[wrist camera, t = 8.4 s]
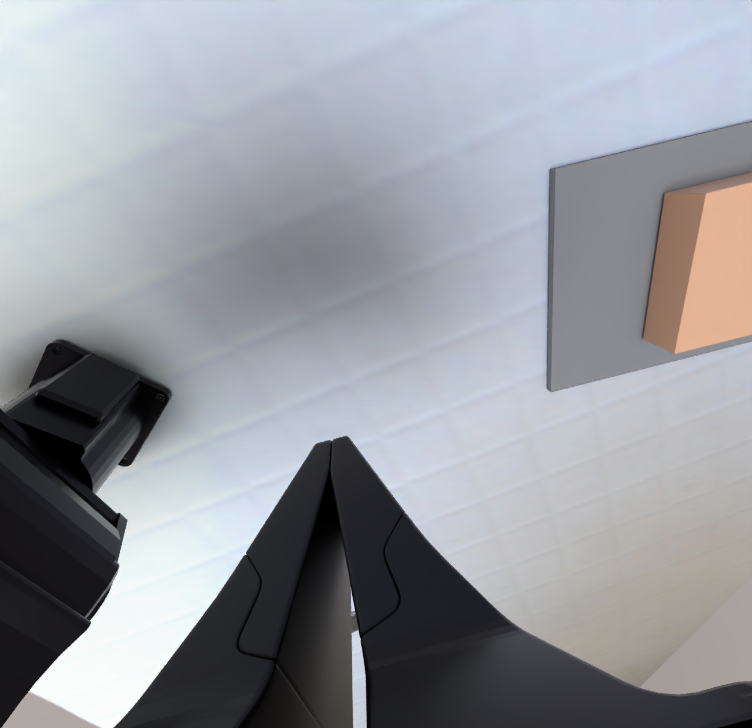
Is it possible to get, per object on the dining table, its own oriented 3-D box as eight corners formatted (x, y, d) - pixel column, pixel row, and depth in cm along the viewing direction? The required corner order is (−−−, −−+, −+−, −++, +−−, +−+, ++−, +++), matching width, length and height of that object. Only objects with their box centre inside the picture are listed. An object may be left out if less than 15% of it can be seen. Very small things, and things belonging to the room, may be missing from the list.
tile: (674, 354, 22) (814, 318, 22) (706, 193, 18) (878, 151, 18) (641, 338, 24) (768, 306, 24) (662, 192, 20) (815, 155, 20)
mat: (547, 388, 25) (551, 392, 25) (550, 169, 19) (555, 168, 19) (760, 334, 26) (767, 337, 25) (833, 101, 19) (844, 99, 19)
